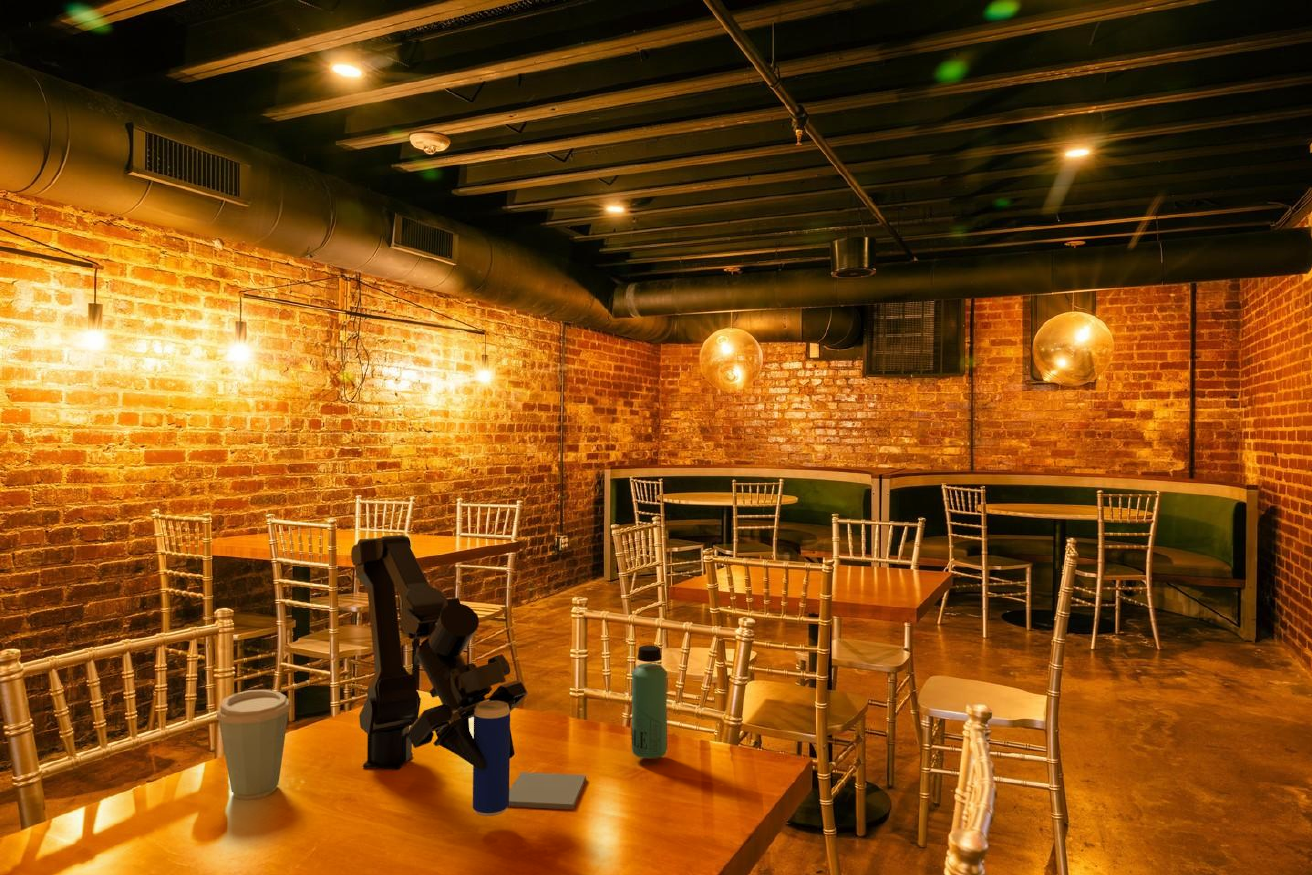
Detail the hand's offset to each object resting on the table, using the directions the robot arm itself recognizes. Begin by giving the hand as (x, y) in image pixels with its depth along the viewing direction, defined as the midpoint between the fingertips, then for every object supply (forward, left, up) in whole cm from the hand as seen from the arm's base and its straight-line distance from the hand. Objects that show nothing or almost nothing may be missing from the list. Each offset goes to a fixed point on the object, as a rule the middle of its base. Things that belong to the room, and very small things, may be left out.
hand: (498, 762), depth 117 cm
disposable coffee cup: (-42, +9, -10) cm, 44 cm away
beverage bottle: (+19, +29, -10) cm, 36 cm away
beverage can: (-1, +1, -7) cm, 7 cm away
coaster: (+4, +14, -10) cm, 17 cm away
